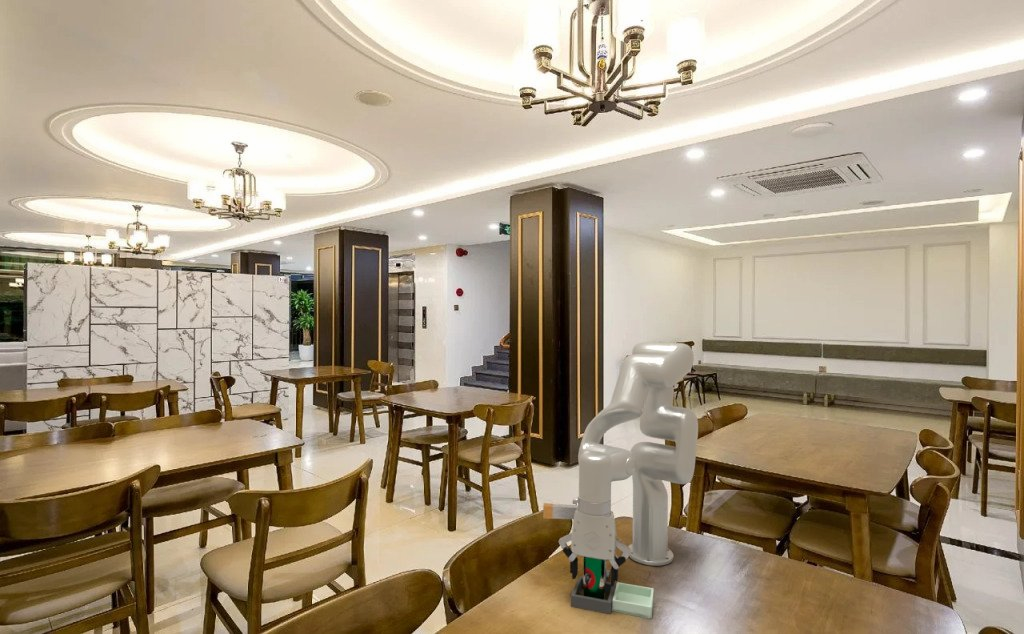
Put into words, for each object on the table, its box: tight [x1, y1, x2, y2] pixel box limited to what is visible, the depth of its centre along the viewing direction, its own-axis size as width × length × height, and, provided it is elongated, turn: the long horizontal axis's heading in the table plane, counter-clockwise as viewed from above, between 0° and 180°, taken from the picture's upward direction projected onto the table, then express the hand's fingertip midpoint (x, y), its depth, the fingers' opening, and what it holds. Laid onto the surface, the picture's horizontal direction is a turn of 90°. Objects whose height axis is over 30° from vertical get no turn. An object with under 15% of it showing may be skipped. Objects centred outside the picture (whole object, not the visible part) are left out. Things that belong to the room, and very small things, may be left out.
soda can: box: [582, 557, 606, 600], centre depth 118 cm, size 5×5×12 cm
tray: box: [611, 581, 655, 620], centre depth 116 cm, size 8×8×2 cm
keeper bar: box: [542, 502, 578, 520], centre depth 130 cm, size 17×3×3 cm, turn 84°
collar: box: [570, 576, 617, 615], centre depth 118 cm, size 9×9×2 cm
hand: (593, 579), depth 118 cm, fingers open, 8 cm apart
